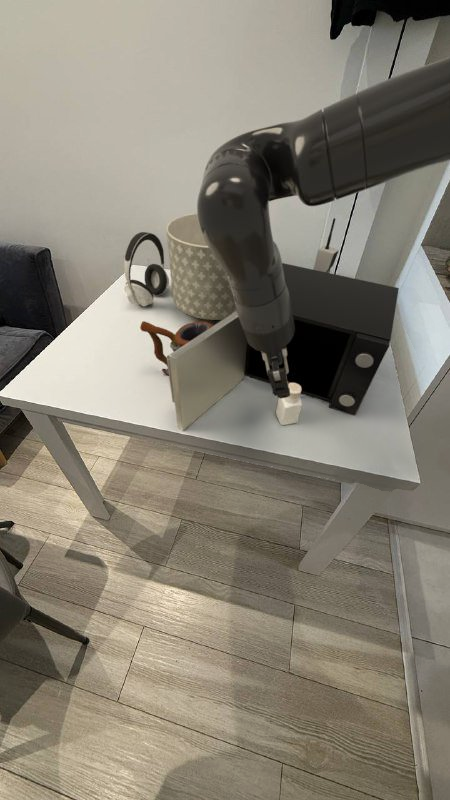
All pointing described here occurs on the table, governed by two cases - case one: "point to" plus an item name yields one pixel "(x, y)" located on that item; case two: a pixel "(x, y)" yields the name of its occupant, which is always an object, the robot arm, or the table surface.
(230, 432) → the table surface
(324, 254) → the vintage mobile phone
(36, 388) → the table surface
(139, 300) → the headphones
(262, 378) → the microwave
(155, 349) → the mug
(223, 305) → the planter
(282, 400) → the pepper shaker
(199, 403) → the microwave door
